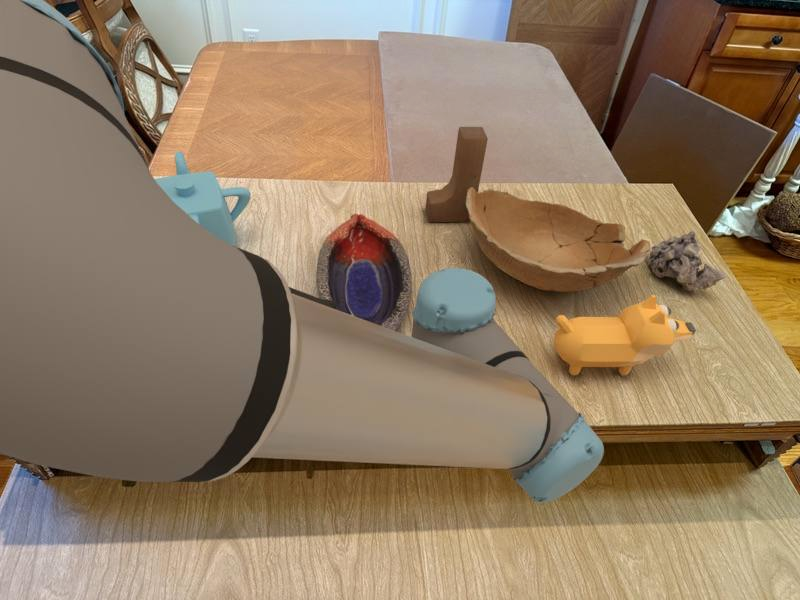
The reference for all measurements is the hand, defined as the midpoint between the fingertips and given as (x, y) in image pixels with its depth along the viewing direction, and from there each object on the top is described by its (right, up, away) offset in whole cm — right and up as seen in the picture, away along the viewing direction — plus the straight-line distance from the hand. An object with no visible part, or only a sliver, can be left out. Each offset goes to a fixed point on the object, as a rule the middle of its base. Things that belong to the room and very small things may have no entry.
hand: (193, 303), depth 68 cm
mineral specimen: (+75, +5, +30) cm, 81 cm away
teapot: (-10, +11, +29) cm, 33 cm away
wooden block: (+36, +17, +39) cm, 56 cm away
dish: (+20, +2, +23) cm, 31 cm away
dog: (+58, -9, +14) cm, 60 cm away
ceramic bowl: (+51, +6, +30) cm, 60 cm away
